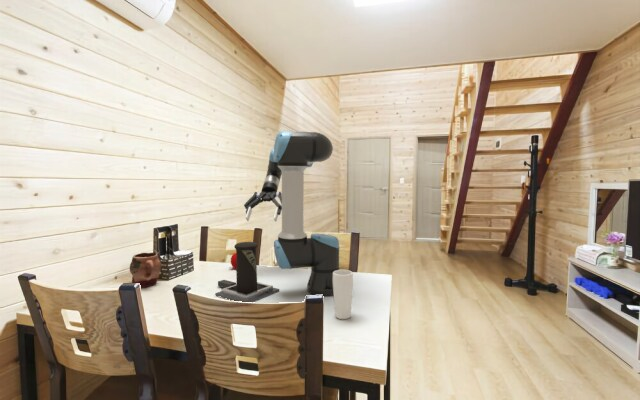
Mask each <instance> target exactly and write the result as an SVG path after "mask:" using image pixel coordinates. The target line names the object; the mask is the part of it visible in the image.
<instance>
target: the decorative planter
mask: <svg viewBox="0 0 640 400" xmlns="http://www.w3.org/2000/svg"><path fill="white" fill-rule="evenodd" d="M161 270H162V262H161V261H160V258H159V255H158V254H157V252H141V253H136V254H134V255H133V256H132V259H131V262H130V264H129V272H130V274H131V276H132V278H131V283H140V285H141V288H140V289H142V288H149V287H151V286H154V285H156V284H157V282H158V278H159V276H160V272H161Z"/></svg>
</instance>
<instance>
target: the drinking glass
mask: <svg viewBox="0 0 640 400" xmlns="http://www.w3.org/2000/svg"><path fill="white" fill-rule="evenodd" d="M353 287H354V273H353V271H351V270H349V269H339V270H336V271H334V272H333V294H334V295H333V302H334V303H333V305H334V316H335V318H336V319H338V320H348V319H349V318H351V316H352V304H353V303H352V302H353Z"/></svg>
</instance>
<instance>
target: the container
mask: <svg viewBox="0 0 640 400" xmlns="http://www.w3.org/2000/svg"><path fill="white" fill-rule="evenodd" d="M257 247H258V244H257V243H256V242H254V241H240V242H237V243H236V244H234V249H235V253H236V269H235V270H236V284H237V292H239V293H243V294H249V293H252V292H255V291H257V282H258V266H257Z"/></svg>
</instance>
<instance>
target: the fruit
mask: <svg viewBox="0 0 640 400" xmlns="http://www.w3.org/2000/svg"><path fill="white" fill-rule="evenodd" d="M230 264H231V266H232V268H233V269H235V270H236V252H235V253H233V254H232V255H231V258H230Z"/></svg>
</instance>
